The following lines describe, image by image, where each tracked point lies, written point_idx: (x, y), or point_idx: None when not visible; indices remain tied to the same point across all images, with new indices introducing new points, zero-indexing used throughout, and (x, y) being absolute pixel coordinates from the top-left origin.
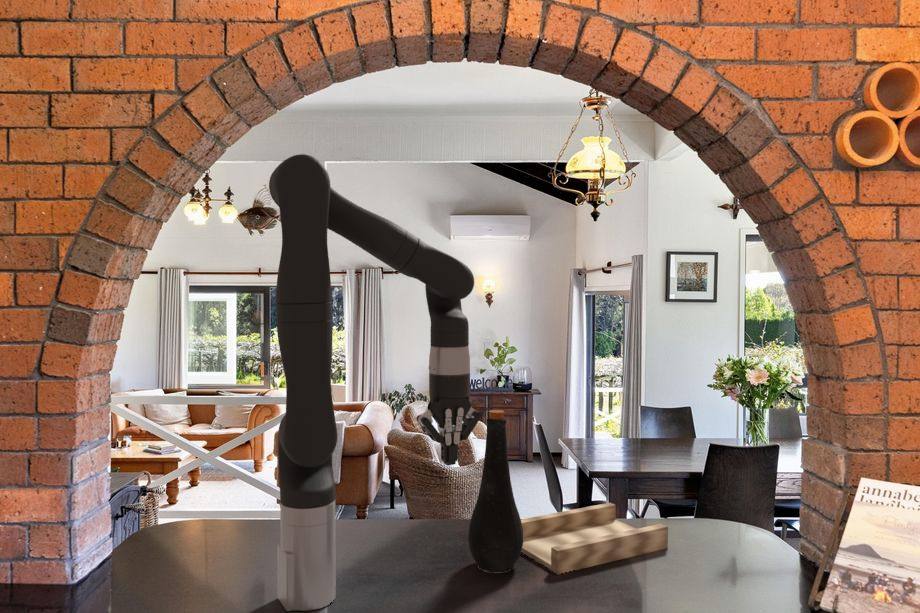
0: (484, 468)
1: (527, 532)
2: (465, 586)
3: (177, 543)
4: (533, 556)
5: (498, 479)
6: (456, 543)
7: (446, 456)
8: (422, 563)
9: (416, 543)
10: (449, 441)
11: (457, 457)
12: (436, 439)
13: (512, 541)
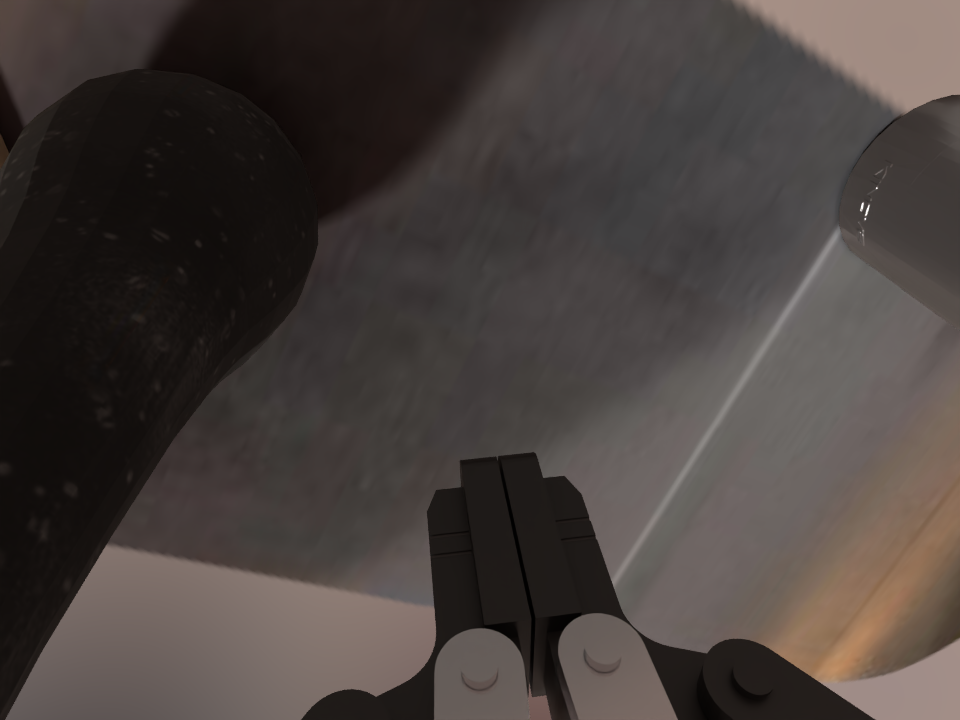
0: (131, 471)
1: None
2: (409, 36)
3: (926, 592)
4: (2, 164)
5: (41, 331)
6: (288, 409)
7: (563, 523)
8: (470, 302)
9: (419, 447)
10: (598, 659)
11: (432, 517)
12: (807, 683)
13: (108, 83)
